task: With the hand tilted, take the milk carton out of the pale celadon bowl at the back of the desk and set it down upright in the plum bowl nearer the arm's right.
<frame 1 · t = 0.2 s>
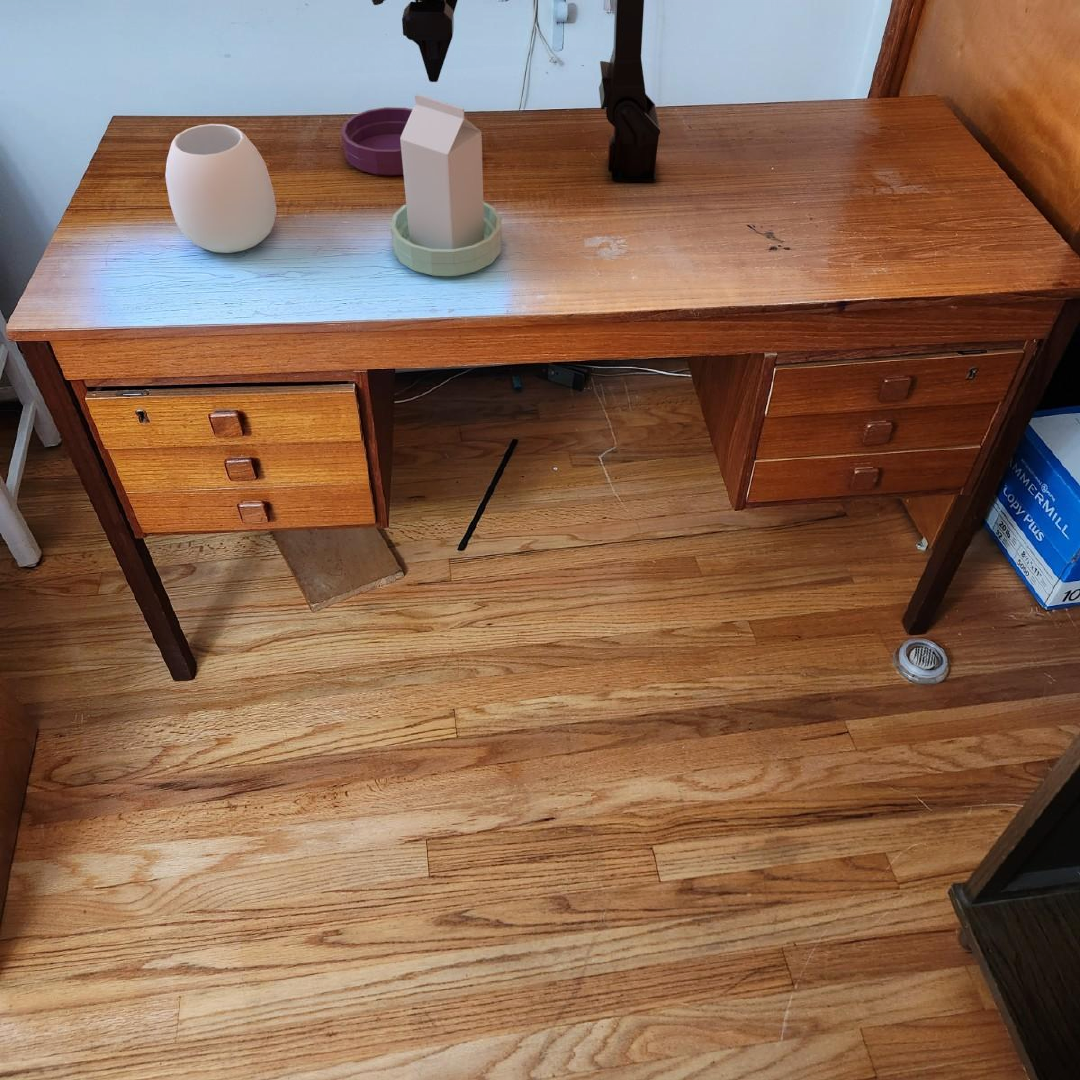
hand: (435, 67, 131), 15 cm above the table, tool pointing down, fingers open, 9 cm apart
cup: (232, 238, 129), on the table
celadon bowl: (447, 249, 127), on the table
milk carton: (447, 247, 127), resting on celadon bowl
plum bowl: (392, 154, 145), on the table
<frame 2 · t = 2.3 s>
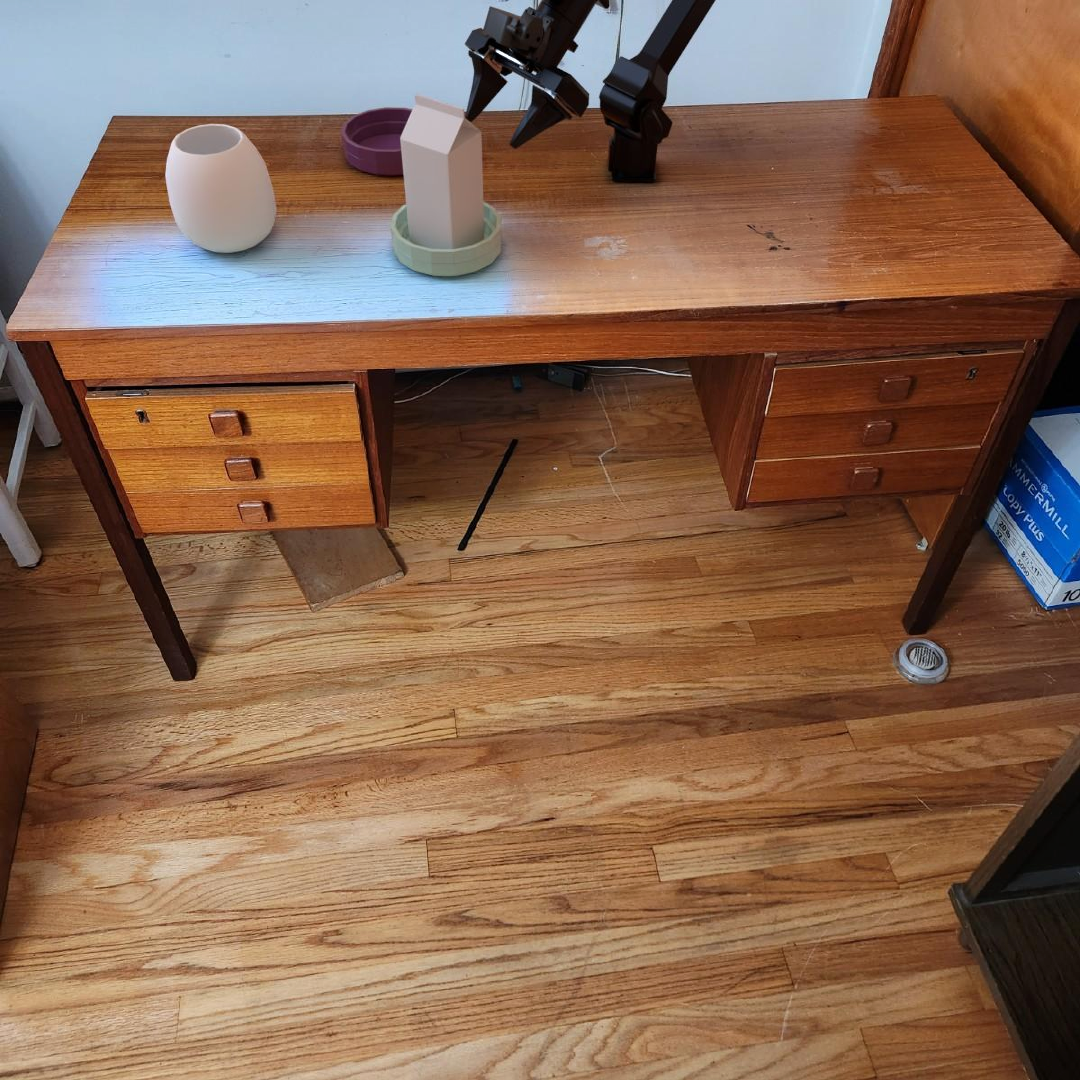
hand: (489, 133, 121), 13 cm above the table, tool tilted 45°, fingers open, 9 cm apart
nothing on the table moved.
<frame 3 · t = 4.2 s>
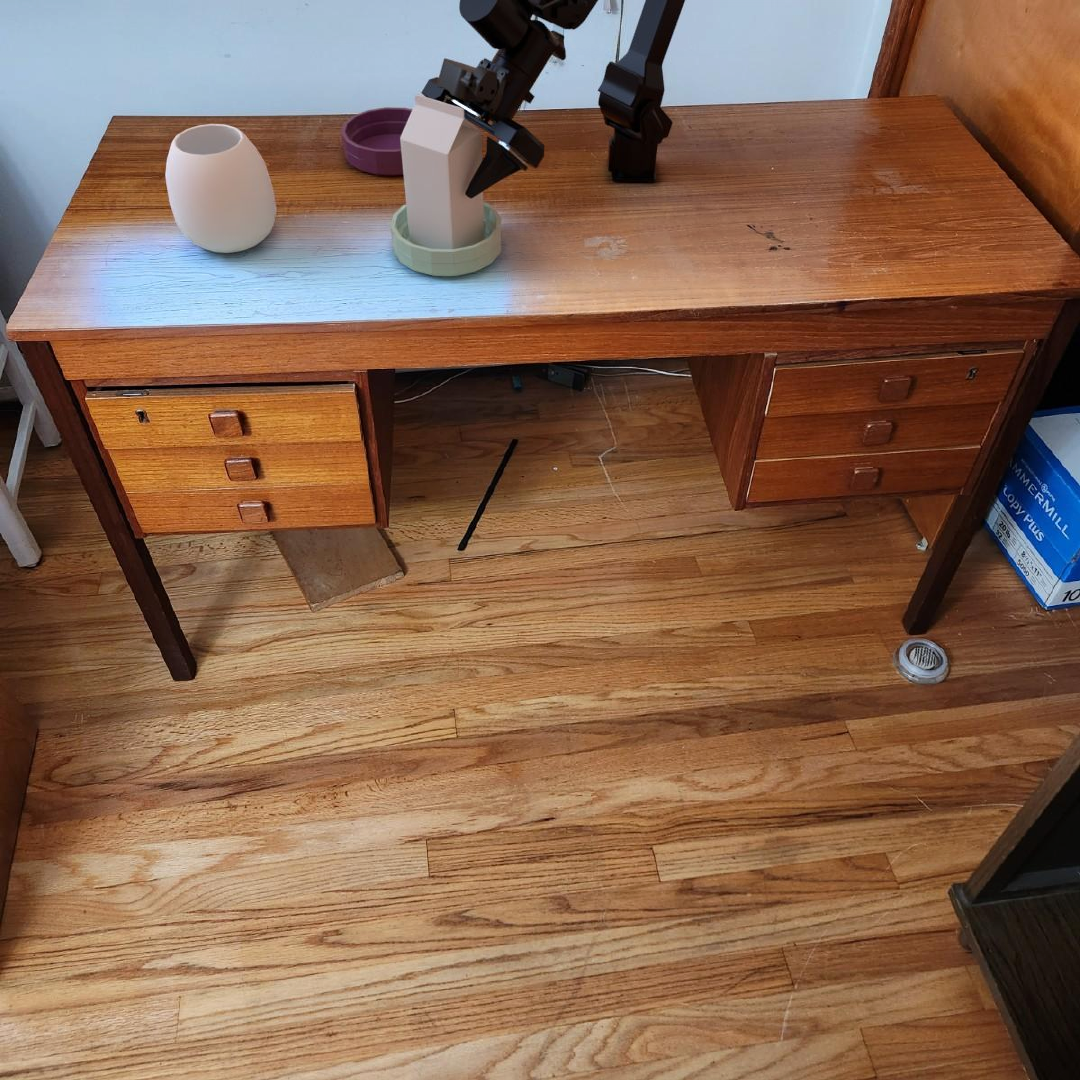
hand: (445, 182, 121), 9 cm above the table, tool tilted 45°, fingers open, 9 cm apart
nothing on the table moved.
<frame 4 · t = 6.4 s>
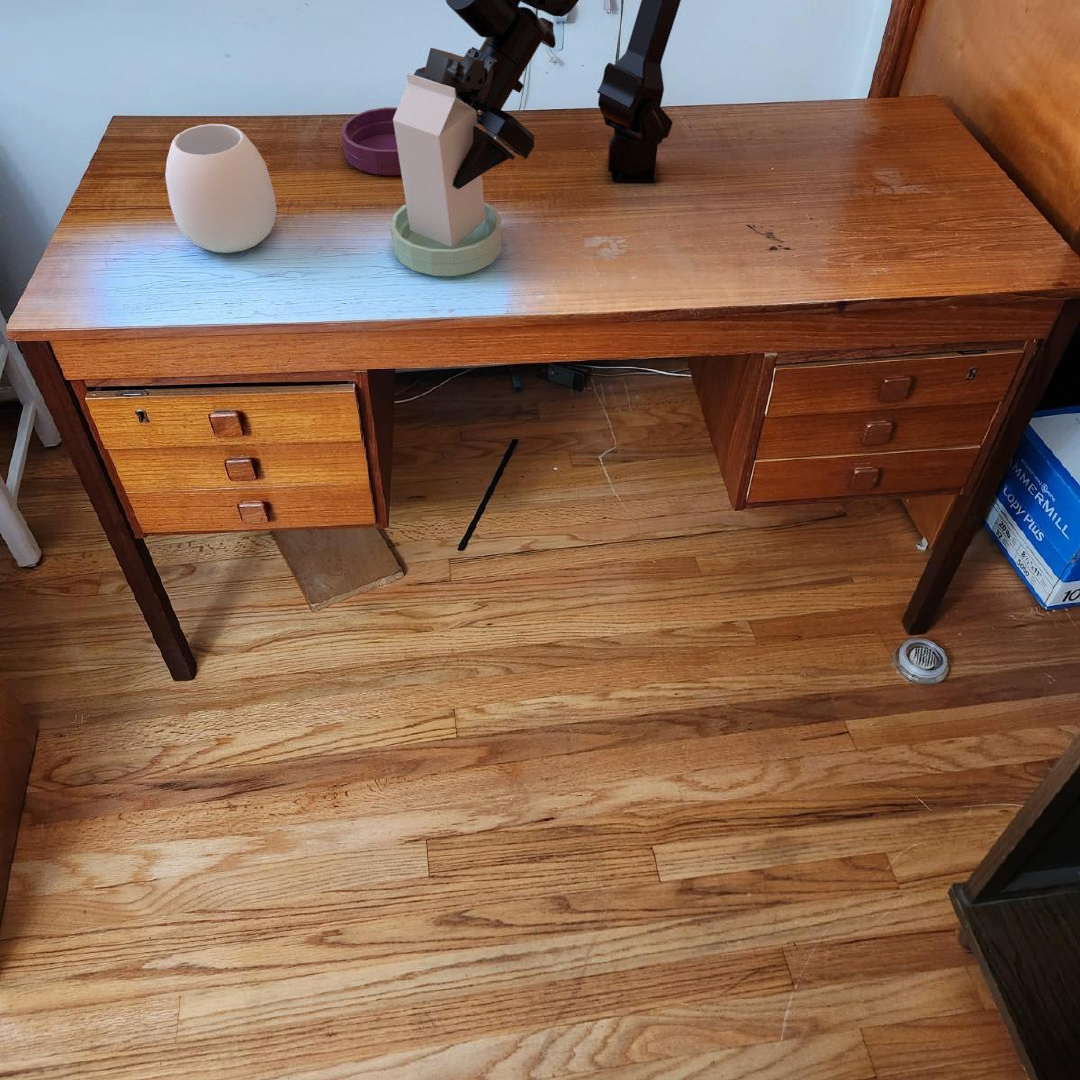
hand: (435, 174, 119), 11 cm above the table, tool tilted 45°, fingers closed on milk carton, 8 cm apart
milk carton: (448, 228, 125), point 3 cm above the table, touching gripper
everything else where it was.
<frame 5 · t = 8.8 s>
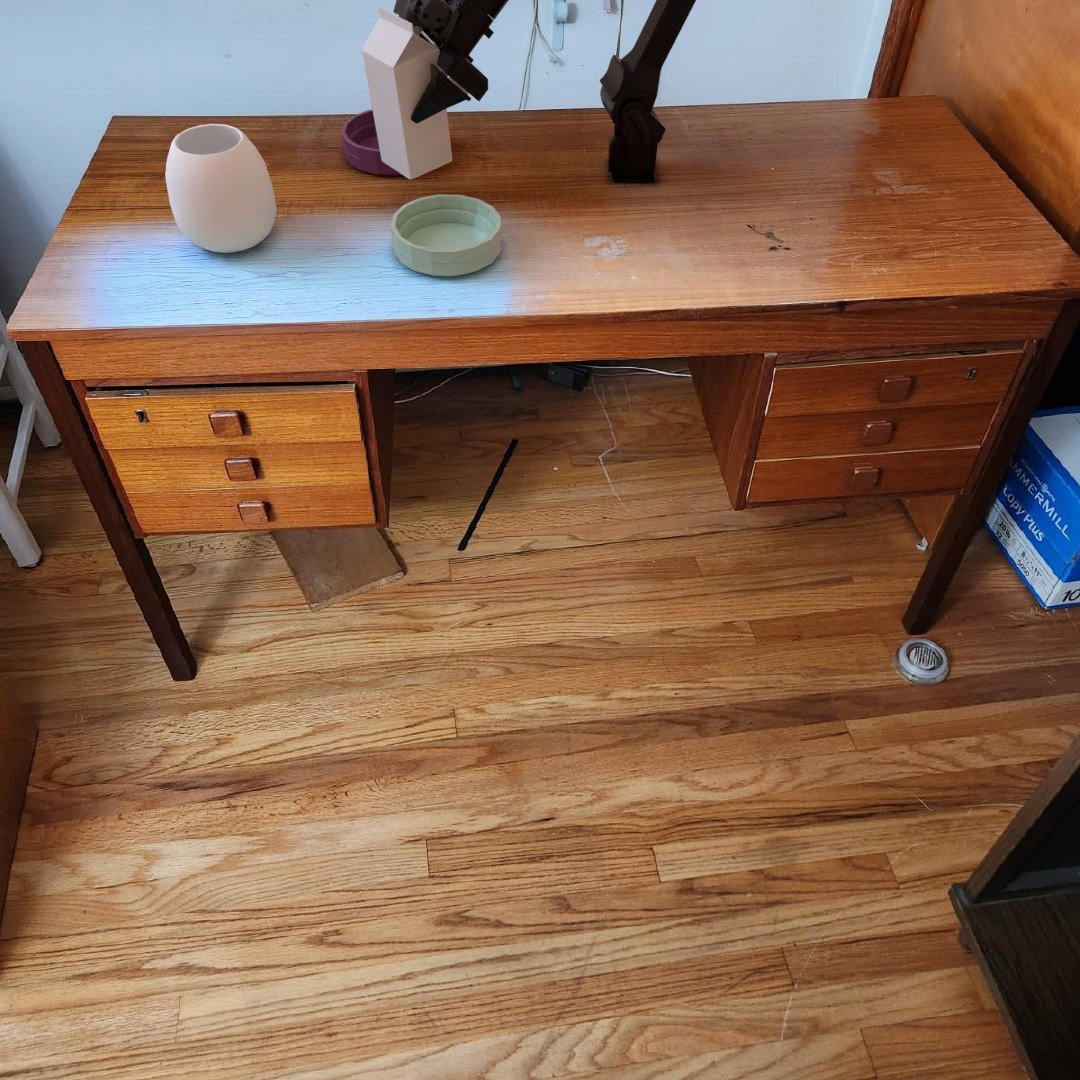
hand: (402, 108, 126), 13 cm above the table, tool tilted 45°, fingers closed on milk carton, 8 cm apart
milk carton: (417, 163, 132), point 5 cm above the table, touching gripper
everything else where it was.
when the fingers open (8 cm above the table, at t = 13.0 s): milk carton stays where it is, resting on plum bowl.
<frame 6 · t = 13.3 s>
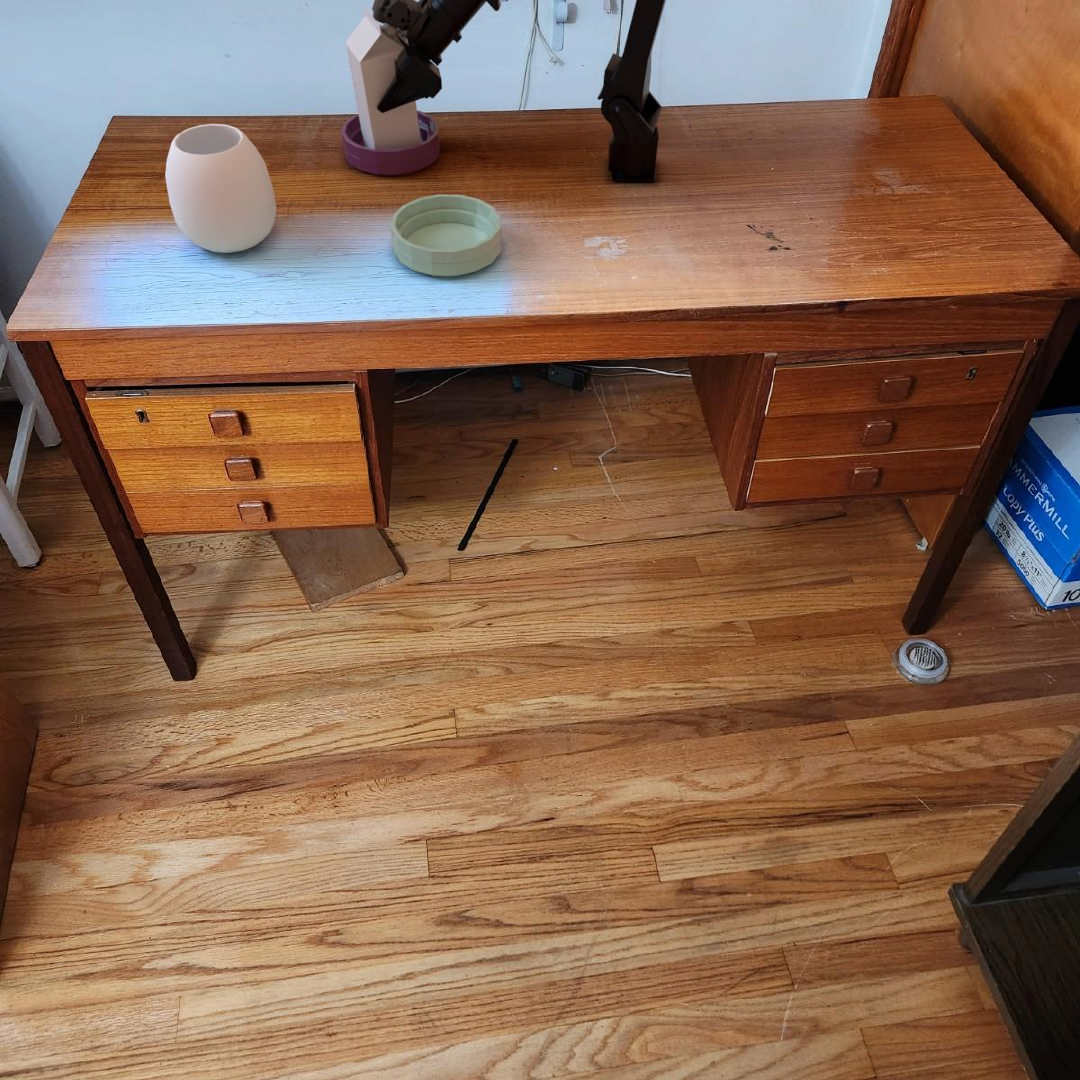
hand: (377, 96, 138), 9 cm above the table, tool tilted 45°, fingers open, 9 cm apart
milk carton: (393, 152, 144), point 1 cm above the table, touching gripper, plum bowl
everything else where it was.
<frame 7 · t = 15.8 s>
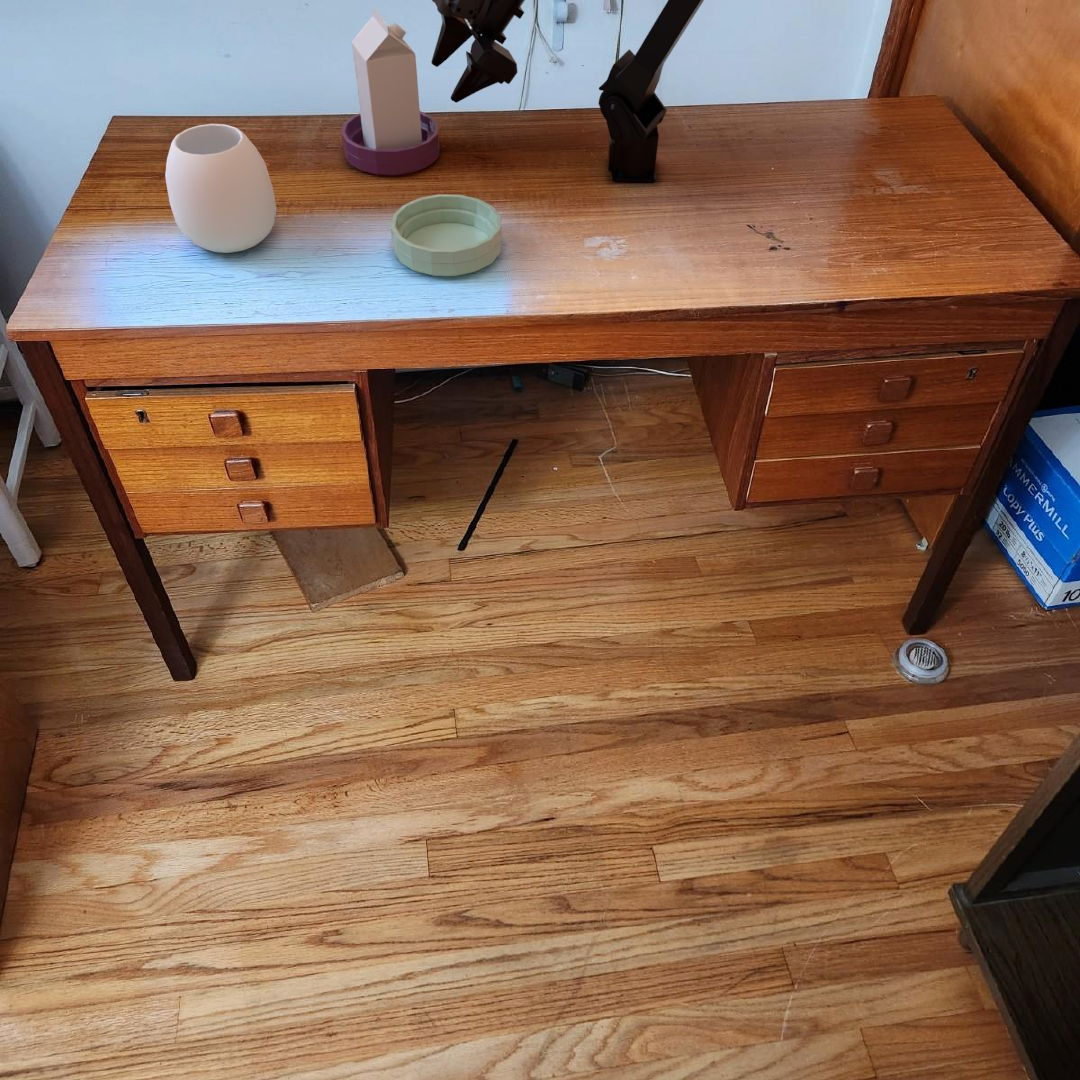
hand: (443, 82, 139), 10 cm above the table, tool tilted 35°, fingers open, 9 cm apart
milk carton: (393, 153, 144), resting on plum bowl
everything else where it was.
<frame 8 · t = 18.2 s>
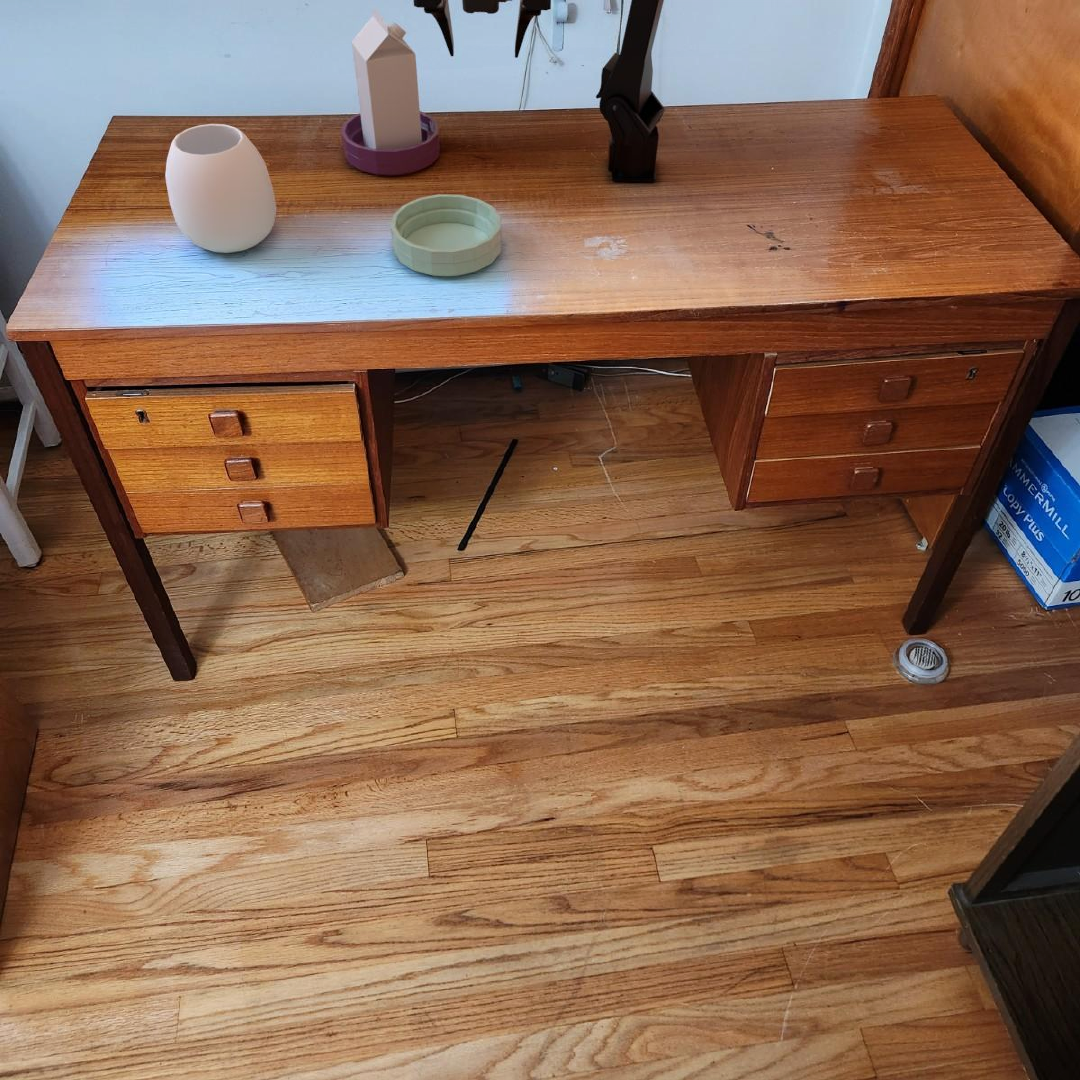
hand: (484, 56, 138), 13 cm above the table, tool pointing down, fingers open, 9 cm apart
nothing on the table moved.
at the end: milk carton inside the target area in the plum bowl (0.3 cm from its centre), point 0.3 cm above the plum bowl's base; milk carton tilted 0°; the gripper is holding nothing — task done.
